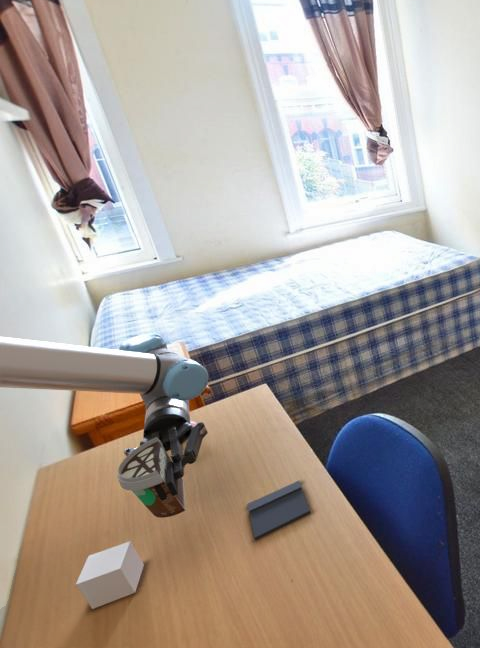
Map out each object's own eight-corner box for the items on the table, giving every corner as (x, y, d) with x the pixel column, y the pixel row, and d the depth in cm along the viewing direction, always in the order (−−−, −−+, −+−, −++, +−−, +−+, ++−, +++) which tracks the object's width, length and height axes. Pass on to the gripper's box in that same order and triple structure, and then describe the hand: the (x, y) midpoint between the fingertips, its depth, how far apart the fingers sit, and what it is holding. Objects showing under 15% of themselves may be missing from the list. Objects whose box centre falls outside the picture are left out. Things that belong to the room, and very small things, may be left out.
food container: (145, 494, 85) (116, 453, 81) (183, 475, 88) (157, 435, 84) (143, 538, 76) (110, 494, 72) (185, 515, 79) (156, 472, 74)
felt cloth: (255, 540, 87) (253, 535, 87) (248, 507, 95) (247, 503, 94) (310, 512, 92) (309, 508, 92) (300, 483, 100) (298, 479, 99)
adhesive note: (135, 592, 79) (120, 568, 77) (92, 609, 77) (75, 584, 75) (144, 564, 84) (130, 540, 82) (104, 579, 82) (88, 555, 80)
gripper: (213, 423, 100) (222, 488, 81) (133, 453, 93) (124, 530, 74) (200, 394, 97) (206, 454, 78) (117, 422, 90) (103, 495, 71)
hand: (166, 491), depth 76 cm, fingers closed on food container
